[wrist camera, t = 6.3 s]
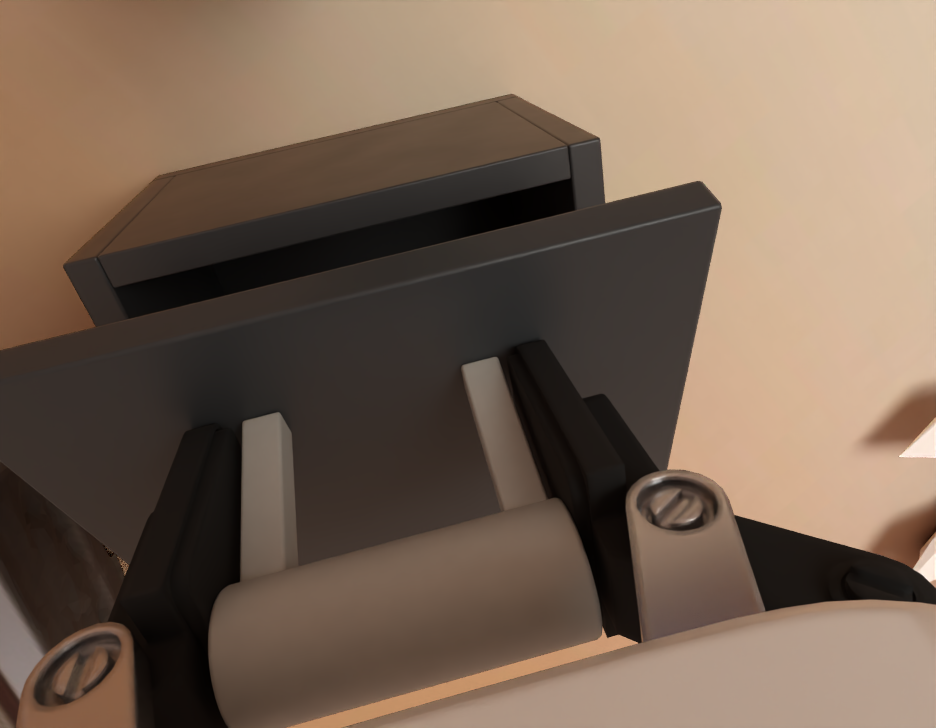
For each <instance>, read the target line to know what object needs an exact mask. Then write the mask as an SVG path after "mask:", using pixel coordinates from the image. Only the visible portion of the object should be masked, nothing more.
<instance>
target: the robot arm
mask: <svg viewBox="0 0 936 728" xmlns="http://www.w3.org/2000/svg"><path fill="white" fill-rule="evenodd" d="M507 364H508V369H509V375H510V380H511V385H512V391H513V396H514V401H515V407H516V410H517V413H518V415H519V418H520V421H521V424H522V427H523V430H524V432H525V435H526V438H527V441H528V444H529V446H530V449H531V452H532V455H533V458H534V461H535V463H536V466H537V469H538V472H539V475H540V478H541V480H542V483H543V486H544V489H545V492H546V494H547V497H548V499H551V498H559V499H561V500H562V501H563V503H564V504H565V505H566V507H567V509H568V510H569V512H570V514H571V516H572V518H573V520H574V523H575V525H576V527H577V530H578V532H579V535H580V538H581V540H582V543H583V546H584V549H585V552H586V555H587V558H588V561H589V564H590V568H591V571H592V575H593V578H594V582H595V586H596V590H597V594H598V598H599V603H600V609H601V615H602V626H603V628H604V631H605V633H606V635H607V638H608V637H612V636H615V635H621V636H624V637H626V638H628V639H631V640H633V641H636V642H638V644H635V645H632V646H628V647H624V648H621V649H617V650H614V651H610V652H607V653H603V654H599V655H596V656H592V657H589V658H585V659H582V660H578V661H575V662H571V663H568V664H564V665H560V666H557V667H553V668H550V669H546V670H543V671H539V672H536V673H532V674H528V675H525V676H521V677H518V678H514V679H511V680H507V681H504V682H500V683H497V684H493V685H489V686H486V687H482V688H479V689H475V690H472V691H468V692H465V693H461V694H458V695H454V696H451V697H447V698H444V699H440V700H437V701H433V702H430V703H426V704H423V705H419V706H416V707H412V708H409V709H405V710H402V711H398V712H395V713H391V714H388V715H384V716H381V717H377V718H374V719H371V720H367V721H364V722H360V723H357V724H353V725H350V726H346V727H343V728H936V588H935V587H934V586H933V585H932V584H931V583H930V582H929V581H928V580H927V579H926V578H925V577H924V576H923V575H922V574H920V573H918V572H917V571H915V570H913V569H912V568H910V567H908V566H907V565H905V564H903V563H900V562H898V561H895V560H892V559H890V558H887V557H884V556H881V555H877V554H874V553H870V552H866V551H863V550H859V549H855V548H852V547H848V546H845V545H841V544H837V543H834V542H830V541H826V540H823V539H819V538H816V537H812V536H808V535H805V534H801V533H797V532H794V531H790V530H787V529H783V528H779V527H776V526H772V525H768V524H765V523H761V522H758V521H754V520H750V519H747V518H743V517H739V516H736V515H734V513H733V510H732V507H731V504H730V501H729V499H728V497H727V495H726V494H725V492H724V490H723V489H722V488H721V487H720V486H719V485H718V484H717V483H715V482H714V481H713V480H711V479H709V478H707V477H705V476H703V475H701V474H699V473H694V472H690V471H686V470H664V471H659V469H658V468H657V466H656V465H655V464H654V462H653V461H652V459H651V458H650V457H649V455H648V454H647V452H646V451H645V450H644V448H643V447H642V445H641V444H640V442H639V441H638V440H637V438H636V437H635V435H634V434H633V433H632V431H631V430H630V428H629V427H628V426H627V424H626V423H625V421H624V420H623V418H622V417H621V416H620V414H619V413H618V411H617V410H616V409H615V407H614V406H613V404H612V403H611V402H610V400H609V399H608V398H607V396H606V395H605V394H602V393H601V394H597V395H593V396H590V397H586V398H581V396H580V394H579V393H578V391H577V390H576V388H575V387H574V385H573V383H572V382H571V380H570V379H569V377H568V376H567V374H566V372H565V371H564V369H563V368H562V366H561V365H560V363H559V362H558V360H557V358H556V357H555V355H554V354H553V352H552V351H551V349H550V347H549V346H548V344H547V343H546V341H545V340H540V341H536V342H532V343H528V344H524V345H520V346H516V354H515V355H511V356H507ZM241 474H242V448H241V445H240V443H239V441H238V439H237V437H236V435H235V433H234V431H233V430H232V429H231V428H227V429H223V428H222V427H221V426H220V425H219V424H217V423H216V424H212V425H208V426H204V427H200V428H196V429H192V430H188V431H186V432H185V433H184V434H183V437H182V440H181V442H180V445H179V447H178V450H177V453H176V455H175V458H174V460H173V463H172V466H171V468H170V471H169V473H168V476H167V479H166V481H165V484H164V486H163V489H162V492H161V494H160V497H159V499H158V502H157V505H156V507H155V510H154V512H153V513H151V514H150V516H149V518H148V519H147V522H146V524H145V527H144V529H143V532H142V534H141V537H140V539H139V542H138V545H137V547H136V550H135V552H134V555H133V557H132V560H131V562H130V565H129V568H128V570H127V573H126V575H125V578H124V580H123V583H122V585H121V588H120V590H119V593H118V596H117V598H116V601H115V603H114V606H113V608H112V611H111V613H110V616H109V619H108V621H107V622H106V623H98V624H95V625H92V626H89V627H87V628H84V629H81V630H79V631H77V632H76V633H74V634H72V635H71V636H69V637H67V638H65V639H64V640H62V641H61V642H60V643H59V644H57V645H56V646H55V647H54V648H52V649H51V650H50V651H49V652H48V653H47V654H46V655H45V656H44V657H43V658H42V659H41V660H40V661H39V662H38V663H37V664H36V665H35V667H34V669H33V670H32V672H31V673H30V675H29V676H28V678H27V679H26V681H25V684H24V687H23V690H22V693H21V697H20V704H19V710H18V716H17V723H16V727H15V728H228V726H227V725H226V723H225V721H224V719H223V717H222V715H221V713H220V710H219V708H218V705H217V702H216V699H215V695H214V691H213V686H212V681H211V675H210V668H209V657H208V632H209V622H210V616H211V611H212V608H213V605H214V602H215V600H216V597H217V596H218V594H219V593H220V592H221V591H222V590H223V589H224V588H225V587H227V586H229V585H231V584H235V583H239V582H240V539H241Z"/></svg>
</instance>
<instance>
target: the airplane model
mask: <svg viewBox="0 0 936 728" xmlns="http://www.w3.org/2000/svg"><path fill="white" fill-rule="evenodd" d="M899 457H934V458H936V417H935V418H934V419H933V420H932V421H931V423H930V424H929V425H928V426H927V427H926V428H925V429H924V430H923V431H922V432H921V433H920V434H919V435H918V437H917V438H916V439H915V440H914V441H913V442H912V443H911V444H910V445H909V446H908V447H907V448H906V449H905V450H904V452H903V453H902V454H901V455H900V456H899ZM913 570H915V571H917V572H918V573H920V574H922V575H923V576H924V577H925V578H926V579H927V580H928V581H929V582H930V583H931V584H932V585H933V586H934V587H935V588H936V532H935V533H934V534H933V535H932V537H931V538H930V539H929V540H928V541H927V542H926V544H925V545H924V546H923V547H922V548H921V550H920V559H919V560H918V562H917V563H916V565H915V566H914V568H913Z"/></svg>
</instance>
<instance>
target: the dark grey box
mask: <svg viewBox="0 0 936 728" xmlns="http://www.w3.org/2000/svg"><path fill="white" fill-rule="evenodd" d="M601 204H605V194H604V182H603V169H602V156H601V143H600V138H598V137H596V136H595V135H593V134H591V133H589V132H587V131H585V130H583V129H581V128H579V127H577V126H575V125H573V124H571V123H569V122H567V121H565V120H563V119H561V118H559V117H557V116H555V115H553V114H551V113H549V112H547V111H545V110H543V109H541V108H539V107H537V106H535V105H533V104H531V103H529V102H527V101H526V100H524V99H522V98H520V97H518V96H516V95H514V94H510V95H505V96H501V97H497V98H492V99H488V100H484V101H479V102H475V103H471V104H466V105H462V106H458V107H453V108H449V109H445V110H440V111H436V112H432V113H427V114H423V115H419V116H414V117H410V118H406V119H401V120H397V121H392V122H388V123H384V124H379V125H375V126H371V127H366V128H362V129H358V130H353V131H349V132H345V133H340V134H336V135H332V136H327V137H323V138H319V139H314V140H310V141H306V142H301V143H297V144H293V145H288V146H284V147H280V148H275V149H271V150H267V151H262V152H258V153H254V154H249V155H245V156H241V157H236V158H232V159H228V160H223V161H219V162H215V163H210V164H206V165H202V166H197V167H193V168H189V169H184V170H180V171H176V172H171V173H167V174H163V175H159V176H157V177H156V178H155V179H154V180H153V181H152V182H151V183H150V184H149V185H148V186H147V187H146V188H145V189H144V190H143V191H142V192H140V193H139V194H138V195H137V196H136V197H135V198H134V199H133V200H132V201H131V202H130V203H129V204H128V205H127V206H125V207H124V208H123V209H122V210H121V211H120V212H119V213H118V214H117V215H116V216H115V217H114V218H113V219H112V220H110V221H109V222H108V223H107V224H106V225H105V226H104V227H103V228H102V229H101V230H100V231H99V232H98V233H97V234H96V235H94V236H93V237H92V238H91V239H90V240H89V241H88V242H87V243H86V244H85V245H84V246H83V247H82V248H81V249H79V250H78V251H77V252H76V253H75V254H74V255H73V256H72V257H71V258H70V259H69V260H68V261H67V262H66V263H64V264H63V268H64V270H65V271H66V273H67V275H68V277H69V279H70V280H71V282H72V284H73V286H74V288H75V290H76V291H77V293H78V295H79V297H80V299H81V300H82V302H83V304H84V306H85V308H86V310H87V311H88V313H89V315H90V317H91V319H92V320H93V322H94V324H95V326H96V327H98V326H102V325H106V324H111V323H115V322H119V321H123V320H127V319H131V318H135V317H139V316H144V315H148V314H152V313H156V312H160V311H164V310H168V309H172V308H177V307H181V306H185V305H189V304H193V303H197V302H201V301H205V300H209V299H214V298H218V297H222V296H226V295H230V294H234V293H238V292H242V291H247V290H251V289H255V288H259V287H263V286H267V285H271V284H275V283H279V282H284V281H288V280H292V279H296V278H300V277H304V276H308V275H312V274H317V273H321V272H325V271H329V270H333V269H337V268H341V267H345V266H350V265H354V264H358V263H362V262H366V261H370V260H374V259H378V258H382V257H387V256H391V255H395V254H399V253H403V252H407V251H411V250H415V249H420V248H424V247H428V246H432V245H436V244H440V243H444V242H448V241H453V240H457V239H461V238H465V237H469V236H473V235H477V234H481V233H485V232H490V231H494V230H498V229H502V228H506V227H510V226H514V225H518V224H523V223H527V222H531V221H535V220H539V219H543V218H547V217H551V216H555V215H560V214H564V213H568V212H572V211H576V210H580V209H584V208H588V207H593V206H597V205H601Z"/></svg>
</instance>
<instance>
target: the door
mask: <svg viewBox="0 0 936 728" xmlns="http://www.w3.org/2000/svg"><path fill="white" fill-rule="evenodd" d="M721 209H722V206H721V203H720V202H719V201H718V199H717V198H716V197H715V196H714V195H713V194H712V193H711V191H710V190H709V189H708V188H707V187H706V186H705V185H704V183H703V182H701V181H696V182H691V183H687V184H683V185H679V186H675V187H671V188H667V189H663V190H658V191H654V192H650V193H646V194H642V195H638V196H634V197H630V198H626V199H621V200H617V201H613V202H609V203H605V204H601V205H597V206H593V207H588V208H584V209H580V210H576V211H572V212H568V213H564V214H560V215H555V216H551V217H547V218H543V219H539V220H535V221H531V222H527V223H523V224H518V225H514V226H510V227H506V228H502V229H498V230H494V231H490V232H485V233H481V234H477V235H473V236H469V237H465V238H461V239H457V240H453V241H448V242H444V243H440V244H436V245H432V246H428V247H424V248H420V249H415V250H411V251H407V252H403V253H399V254H395V255H391V256H387V257H382V258H378V259H374V260H370V261H366V262H362V263H358V264H354V265H350V266H345V267H341V268H337V269H333V270H329V271H325V272H321V273H317V274H312V275H308V276H304V277H300V278H296V279H292V280H288V281H284V282H279V283H275V284H271V285H267V286H263V287H259V288H255V289H251V290H247V291H242V292H238V293H234V294H230V295H226V296H222V297H218V298H214V299H209V300H205V301H201V302H197V303H193V304H189V305H185V306H181V307H177V308H172V309H168V310H164V311H160V312H156V313H152V314H148V315H144V316H139V317H135V318H131V319H127V320H123V321H119V322H115V323H111V324H106V325H102V326H98V327H94V328H90V329H86V330H82V331H78V332H74V333H69V334H65V335H61V336H57V337H53V338H49V339H45V340H41V341H36V342H32V343H28V344H24V345H20V346H16V347H12V348H8V349H3V350H0V462H2V463H3V464H4V465H5V466H7V467H8V468H9V469H10V470H11V471H13V472H14V473H15V474H16V475H18V476H19V477H20V478H21V479H23V480H24V481H25V482H26V483H28V484H29V485H30V486H31V487H33V488H34V489H35V490H36V491H38V492H39V493H40V494H41V495H43V496H44V497H45V498H46V499H48V500H49V501H50V502H51V503H53V504H54V505H55V506H56V507H58V508H59V509H60V510H61V511H63V512H64V513H65V514H66V515H67V516H69V517H70V518H71V519H72V520H74V521H75V522H76V523H77V524H79V525H80V526H81V527H82V528H84V529H85V530H86V531H87V532H89V533H90V534H91V535H92V536H94V537H95V538H96V539H97V540H99V541H100V542H101V543H102V544H104V545H105V546H106V547H107V548H109V549H110V550H111V551H112V552H114V553H115V554H116V555H117V556H119V557H120V558H121V559H122V560H123V561H125V562H126V563H127V564H128V565H130V562H131V560H132V557H133V555H134V552H135V550H136V547H137V545H138V542H139V539H140V537H141V534H142V532H143V529H144V527H145V524H146V522H147V519H148V518H149V516H150V514H151V513H153V512H154V510H155V507H156V505H157V502H158V499H159V497H160V494H161V492H162V489H163V486H164V484H165V481H166V479H167V476H168V473H169V471H170V468H171V466H172V463H173V460H174V458H175V455H176V453H177V450H178V447H179V445H180V442H181V440H182V437H183V434H184V433H185V432H186V431H188V430H192V429H196V428H200V427H204V426H208V425H212V424H216V423H217V424H219V425H220V426H221V427H222V428H223V429H227V428H231V429H232V430H233V431H234V433H235V435H236V437H237V439H238V441H239V443H240V445H241V448H242V474H241V539H240V582H239V583H235V584H231V585H229V586H227V587H225V588H224V589H223V590H222V591H221V592H220V593H219V594H218V596H217V597H216V600H215V602H214V605H213V608H212V611H211V616H210V622H209V632H208V657H209V668H210V675H211V681H212V686H213V691H214V695H215V699H216V702H217V705H218V708H219V710H220V713H221V715H222V717H223V719H224V721H225V723H226V725H227V726H228V728H286V727H290V726H293V725H297V724H300V723H304V722H307V721H311V720H314V719H318V718H322V717H325V716H329V715H332V714H336V713H339V712H343V711H346V710H350V709H353V708H357V707H360V706H364V705H368V704H371V703H375V702H378V701H382V700H385V699H389V698H392V697H396V696H399V695H403V694H406V693H410V692H413V691H417V690H421V689H424V688H428V687H431V686H435V685H438V684H442V683H445V682H449V681H452V680H456V679H459V678H463V677H467V676H470V675H474V674H477V673H481V672H484V671H488V670H491V669H495V668H498V667H502V666H505V665H509V664H512V663H516V662H520V661H523V660H527V659H530V658H534V657H537V656H541V655H544V654H548V653H551V652H555V651H558V650H562V649H566V648H569V647H573V646H576V645H580V644H583V643H587V642H590V641H594V640H597V639H598V638H599V637H600V636H601V635H602V615H601V609H600V603H599V598H598V594H597V590H596V586H595V582H594V578H593V575H592V571H591V568H590V564H589V561H588V558H587V555H586V552H585V549H584V546H583V543H582V540H581V538H580V535H579V532H578V530H577V527H576V525H575V523H574V520H573V518H572V516H571V514H570V512H569V510H568V509H567V507H566V505H565V504H564V503H563V501H562V500H561V499H559V498H551V499H548V497H547V494H546V492H545V489H544V486H543V483H542V480H541V478H540V475H539V472H538V469H537V466H536V463H535V461H534V458H533V455H532V452H531V449H530V446H529V444H528V441H527V438H526V435H525V432H524V430H523V427H522V424H521V421H520V418H519V415H518V413H517V410H516V407H515V401H514V396H513V391H512V385H511V380H510V375H509V369H508V364H507V356H511V355H515V354H516V346H520V345H524V344H528V343H532V342H536V341H540V340H545V341H546V343H547V344H548V346H549V347H550V349H551V351H552V352H553V354H554V355H555V357H556V358H557V360H558V362H559V363H560V365H561V366H562V368H563V369H564V371H565V372H566V374H567V376H568V377H569V379H570V380H571V382H572V383H573V385H574V387H575V388H576V390H577V391H578V393H579V394H580V396H581V398H586V397H590V396H593V395H597V394H601V393H602V394H605V395H606V396H607V398H608V399H609V400H610V402H611V403H612V404H613V406H614V407H615V409H616V410H617V411H618V413H619V414H620V416H621V417H622V418H623V420H624V421H625V423H626V424H627V426H628V427H629V428H630V430H631V431H632V433H633V434H634V435H635V437H636V438H637V440H638V441H639V442H640V444H641V445H642V447H643V448H644V450H645V451H646V452H647V454H648V455H649V457H650V458H651V459H652V461H653V462H654V464H655V465H656V466H657V468H658V469H659V471H664V470H667V467H668V462H669V458H670V453H671V448H672V443H673V438H674V434H675V429H676V424H677V419H678V415H679V410H680V405H681V400H682V396H683V391H684V386H685V381H686V376H687V372H688V367H689V362H690V357H691V353H692V348H693V343H694V338H695V333H696V329H697V324H698V319H699V314H700V310H701V305H702V300H703V295H704V290H705V286H706V281H707V276H708V271H709V267H710V262H711V257H712V252H713V247H714V243H715V238H716V233H717V228H718V224H719V219H720V214H721Z"/></svg>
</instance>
